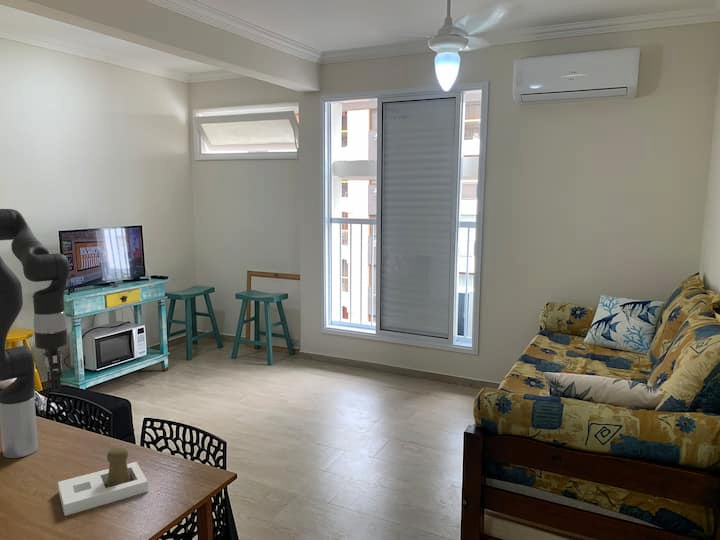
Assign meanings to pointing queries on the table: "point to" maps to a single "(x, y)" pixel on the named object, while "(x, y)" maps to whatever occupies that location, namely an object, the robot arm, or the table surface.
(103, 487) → the socket board
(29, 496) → the table surface
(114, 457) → the olive knobbed peg
